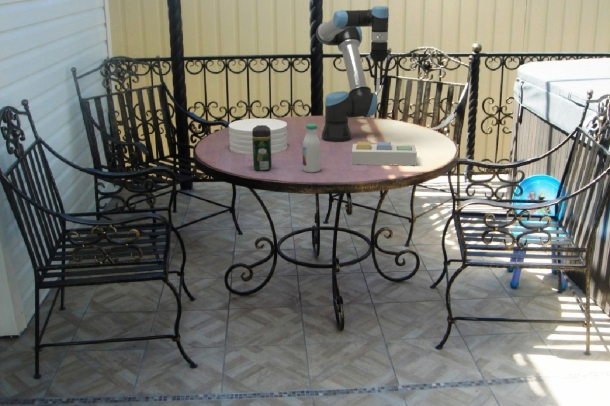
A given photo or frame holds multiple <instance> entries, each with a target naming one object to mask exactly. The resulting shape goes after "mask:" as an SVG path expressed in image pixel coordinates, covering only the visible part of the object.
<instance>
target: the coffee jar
mask: <svg viewBox="0 0 610 406" xmlns="http://www.w3.org/2000/svg"><path fill="white" fill-rule="evenodd" d="M252 141H253V155H252V157H253V158H252V160H253V169H254V170H255V171H260V172H264V171H270V170H271V169H272V166H273V165H272V154H271V133H270V128H269V127H267V126H266V125H257V126H256V127H254V128H253V130H252Z"/></svg>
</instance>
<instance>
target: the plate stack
mask: <svg viewBox="0 0 610 406" xmlns="http://www.w3.org/2000/svg"><path fill="white" fill-rule="evenodd" d="M257 125H266V126H267V127H269V128H270V133H271V155H273V154H278V153H281V152H284V151H286V150H287V149H288V123H287V121H284V120H280V119H274V118H260V117H259V118H246V119H245V118H243V119H239V120H235V121H233V122H230V123H229V124H228V129H229V130H228V134H229V135H228V137H229V150H230V151H231V152H233V153H236V154H242V155H248V156H249V155H250V156H251V155H252V156H253V141H252V130H253V128H254V127H256V126H257Z"/></svg>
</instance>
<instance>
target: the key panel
mask: <svg viewBox="0 0 610 406" xmlns="http://www.w3.org/2000/svg"><path fill="white" fill-rule="evenodd" d="M397 146H411V149H412V150H397ZM351 151H352V152H351V165H352V166H355V165H356V166H358V165H357V164H368V165H367V166H392V165H393V164H397V165H416V166H417V156H418V154H417V153H418V151H417V148H416V145H415V144H400V143H399V144H398V143H397V144H396V143H395V144H394V143H393V144H392V143H391V150H377V143H371V150H359V149H357V143H352V150H351ZM390 164H392V165H390Z"/></svg>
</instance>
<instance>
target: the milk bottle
mask: <svg viewBox="0 0 610 406" xmlns="http://www.w3.org/2000/svg"><path fill="white" fill-rule="evenodd" d="M305 129H306V133H305V136H304V139H303V142H302V170H303V172H306V173H318V172H320V171H321V170H322V169H321V165H322V163H321V159H322V158H321V157H322V155H321V154H322V153H321V152H322V151H321V146H322V145H321V140H320V137H319V135H318V133H317V130H318V124H316V123H307V124H306V125H305Z"/></svg>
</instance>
